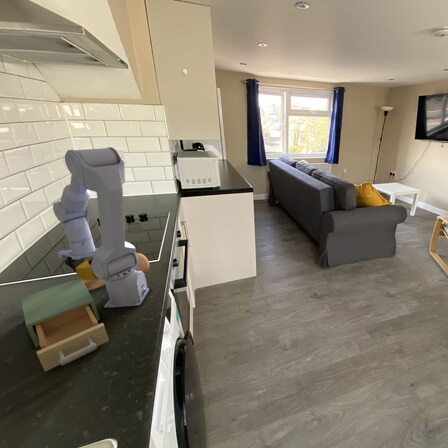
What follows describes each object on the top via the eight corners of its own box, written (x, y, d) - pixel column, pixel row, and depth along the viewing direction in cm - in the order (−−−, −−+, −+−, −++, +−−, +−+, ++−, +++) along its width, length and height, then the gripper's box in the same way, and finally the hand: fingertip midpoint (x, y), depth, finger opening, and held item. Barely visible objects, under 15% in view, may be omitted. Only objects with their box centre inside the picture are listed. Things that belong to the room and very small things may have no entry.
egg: (152, 268, 95) (148, 247, 92) (149, 279, 88) (144, 257, 85) (129, 271, 92) (123, 250, 89) (124, 283, 86) (118, 260, 83)
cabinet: (100, 319, 70) (93, 299, 68) (35, 347, 61) (25, 325, 59) (86, 296, 79) (80, 277, 77) (29, 317, 70) (20, 297, 68)
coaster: (115, 274, 90) (115, 273, 90) (101, 290, 82) (101, 289, 82) (86, 276, 89) (86, 275, 89) (69, 292, 81) (69, 291, 81)
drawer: (114, 350, 60) (109, 334, 58) (48, 384, 52) (39, 367, 50) (94, 314, 71) (89, 299, 69) (36, 337, 63) (29, 321, 61)
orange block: (94, 280, 83) (90, 267, 81) (79, 280, 82) (75, 267, 81) (104, 272, 87) (100, 260, 85) (89, 272, 87) (85, 260, 85)
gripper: (43, 244, 76) (58, 283, 81) (95, 244, 76) (107, 283, 81) (63, 234, 82) (75, 271, 87) (110, 234, 83) (120, 271, 88)
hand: (91, 276), depth 85 cm, fingers closed on orange block, 4 cm apart
